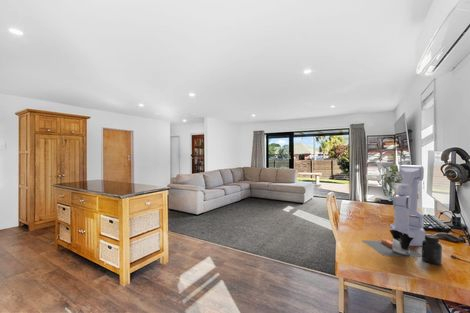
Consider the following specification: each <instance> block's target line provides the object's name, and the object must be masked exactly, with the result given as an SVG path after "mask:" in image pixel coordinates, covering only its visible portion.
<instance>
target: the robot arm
mask: <svg viewBox="0 0 470 313" xmlns="http://www.w3.org/2000/svg"><path fill="white" fill-rule="evenodd" d="M424 169H425V168H424V166H423V165H421V164H420V165H416V164H415V165H411V164H408V165H407V164H401V165H400V167H399V175H400V176H401V178H402V180H401V182H402V183H401V184H399V185H398V187H397V191H396V194H395V195H393V198H392V205H393V210H394V212H393V213H394V215H393V216H394V221H393V222H394V224H391V223H390V224H389V228H390V229H389V232H390V234H391V236H392V239H393V238H401V243H402V249H404V250H408V247H409V248H410V246H413V247H414V246H416V247H418V246H419V247H422V241H424V240H425V235H427V233H426V231H425V229H424V225H425V220H424V215H423V213H421V212H420V211H419V210H418V197H419V196H418V195H419V193H418V192H419V183H420V182H421V181H424V178H425V177H424V175H425V174H424V172H425V170H424Z"/></svg>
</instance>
